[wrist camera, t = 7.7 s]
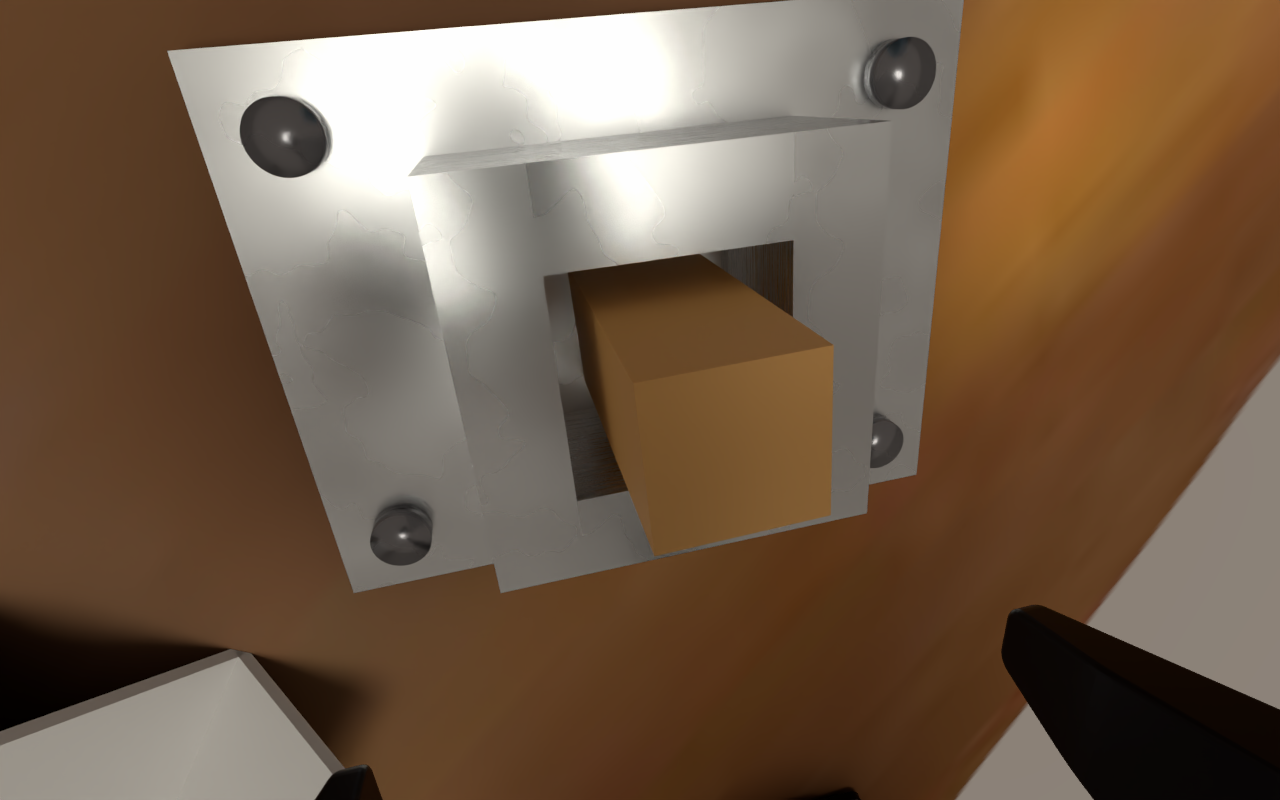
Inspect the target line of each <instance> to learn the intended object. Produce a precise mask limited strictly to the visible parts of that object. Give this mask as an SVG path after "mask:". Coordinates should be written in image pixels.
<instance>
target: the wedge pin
mask: <svg viewBox="0 0 1280 800" xmlns="http://www.w3.org/2000/svg"><path fill="white" fill-rule="evenodd" d="M568 278H569V284H570V291H571V297H572V303H573V310H574V316H575V323H576V329H577V335H578V342H579V348H580V355H581V361H582V368H583V374H584V380H585V383H586V385H587V388H588V390H589V393H590V395H591V398H592V400H593V403H594V405H595V408H596V410H597V413H598V415H599V418H600V420H601V423H602V425H603V428H604V430H605V433H606V435H607V438H608V440H609V443H610V446H611V448H612V451H613V453H614V456H615V458H616V461H617V463H618V466H619V468H620V471H621V473H622V476H623V478H624V481H625V483H626V486H627V488H628V491H629V493H630V496H631V498H632V501H633V503H634V506H635V508H636V511H637V514H638V516H639V519H640V521H641V524H642V526H643V529H644V531H645V534H646V536H647V539H648V541H649V544H650V546H651V549H652V551H653V554H654V556H659V555H663V554H667V553H671V552H676V551H680V550H684V549H688V548H693V547H697V546H701V545H706V544H710V543H714V542H718V541H723V540H727V539H731V538H736V537H740V536H744V535H748V534H753V533H757V532H761V531H766V530H770V529H774V528H778V527H783V526H787V525H791V524H796V523H800V522H804V521H808V520H813V519H817V518H821V517H826V516H830V515H831V475H832V417H833V358H834V345H833V344H831V343H830V342H828V341H827V340H825V339H824V338H823V337H821V336H820V335H818V334H817V333H815V332H814V331H812V330H811V329H809V328H808V327H806V326H805V325H804V324H802V323H801V322H799V321H798V320H796V319H795V318H793V317H792V316H790V315H789V314H787V313H786V312H784V311H783V310H782V309H780V308H779V307H777V306H776V305H774V304H773V303H771V302H770V301H768V300H767V299H765V298H764V297H763V296H761V295H760V294H758V293H757V292H755V291H754V290H752V289H751V288H749V287H748V286H746V285H745V284H743V283H742V282H741V281H739V280H738V279H736V278H735V277H733V276H732V275H730V274H729V273H727V272H726V271H724V270H723V269H721V268H720V267H719V266H717V265H716V264H714V263H713V262H711V261H710V260H708V259H707V258H705V257H704V256H702V255H701V254H693V255H686V256H679V257H672V258H665V259H658V260H651V261H644V262H637V263H630V264H623V265H616V266H609V267H602V268H595V269H588V270H581V271H574V272H568Z"/></svg>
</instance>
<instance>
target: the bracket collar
mask: <svg viewBox="0 0 1280 800" xmlns="http://www.w3.org/2000/svg"><path fill="white" fill-rule="evenodd" d="M963 2H964V0H791V1H779V2H766V3H754V4H741V5H729V6H717V7H704V8H692V9H680V10H667V11H655V12H643V13H630V14H618V15H605V16H593V17H581V18H568V19H556V20H544V21H531V22H519V23H506V24H494V25H482V26H469V27H457V28H445V29H432V30H420V31H408V32H395V33H383V34H370V35H358V36H346V37H333V38H321V39H309V40H296V41H284V42H272V43H259V44H247V45H234V46H222V47H210V48H197V49H185V50H173V51H167V52H168V55H169V57H170V60H171V63H172V66H173V69H174V72H175V75H176V78H177V81H178V84H179V86H180V89H181V92H182V95H183V98H184V101H185V104H186V107H187V110H188V113H189V116H190V118H191V121H192V124H193V127H194V130H195V133H196V136H197V139H198V142H199V145H200V147H201V150H202V153H203V156H204V159H205V162H206V165H207V168H208V171H209V174H210V176H211V179H212V182H213V185H214V188H215V191H216V194H217V197H218V200H219V203H220V206H221V208H222V211H223V214H224V217H225V220H226V223H227V226H228V229H229V232H230V235H231V237H232V240H233V243H234V246H235V249H236V252H237V255H238V258H239V261H240V264H241V267H242V269H243V272H244V275H245V278H246V281H247V284H248V287H249V290H250V293H251V296H252V298H253V301H254V304H255V307H256V310H257V313H258V316H259V319H260V322H261V325H262V327H263V330H264V333H265V336H266V339H267V342H268V345H269V348H270V351H271V354H272V357H273V359H274V362H275V365H276V368H277V371H278V374H279V377H280V380H281V383H282V386H283V388H284V391H285V394H286V397H287V400H288V403H289V406H290V409H291V412H292V415H293V417H294V420H295V423H296V426H297V429H298V432H299V435H300V438H301V441H302V444H303V447H304V449H305V452H306V455H307V458H308V461H309V464H310V467H311V470H312V473H313V476H314V478H315V481H316V484H317V487H318V490H319V493H320V496H321V499H322V502H323V505H324V507H325V510H326V513H327V516H328V519H329V522H330V525H331V528H332V531H333V534H334V537H335V539H336V542H337V545H338V548H339V551H340V554H341V557H342V560H343V563H344V566H345V568H346V571H347V574H348V577H349V580H350V583H351V586H352V589H353V592H354V593H356V592H361V591H366V590H371V589H375V588H380V587H385V586H390V585H394V584H399V583H404V582H409V581H413V580H418V579H423V578H428V577H432V576H437V575H442V574H447V573H451V572H456V571H461V570H466V569H470V568H475V567H480V566H485V565H489V564H494V566H495V570H496V574H497V579H498V583H499V588H500V592H501V593H503V592H508V591H512V590H517V589H522V588H526V587H531V586H535V585H540V584H544V583H549V582H554V581H558V580H563V579H567V578H572V577H577V576H581V575H586V574H590V573H595V572H599V571H604V570H609V569H613V568H618V567H622V566H627V565H631V564H636V563H641V562H645V561H650V560H654V559H659V558H664V557H668V556H673V555H677V554H682V553H686V552H691V551H696V550H700V549H705V548H709V547H714V546H719V545H723V544H728V543H732V542H737V541H741V540H746V539H751V538H755V537H760V536H764V535H769V534H774V533H778V532H783V531H787V530H792V529H796V528H801V527H806V526H810V525H815V524H819V523H824V522H829V521H833V520H838V519H842V518H847V517H851V516H856V515H861V514H865V513H867V503H868V488H869V484H874V483H878V482H883V481H888V480H893V479H897V478H902V477H907V476H912V475H916V472H917V462H918V452H919V442H920V432H921V422H922V412H923V402H924V392H925V382H926V372H927V362H928V352H929V342H930V332H931V322H932V312H933V302H934V292H935V282H936V272H937V262H938V252H939V242H940V232H941V222H942V212H943V202H944V192H945V182H946V172H947V162H948V152H949V142H950V132H951V122H952V112H953V102H954V92H955V82H956V72H957V62H958V52H959V42H960V32H961V22H962V12H963ZM693 254H701V255H702V256H704V257H705V258H707V259H708V260H710V261H711V262H713V263H714V264H716V265H717V266H719V267H720V268H721V269H723V270H724V271H726V272H727V273H729V274H730V275H732V276H733V277H735V278H736V279H738V280H739V281H741V282H742V283H743V284H745V285H746V286H748V287H749V288H751V289H752V290H754V291H755V292H757V293H758V294H760V295H761V296H763V297H764V298H765V299H767V300H768V301H770V302H771V303H773V304H774V305H776V306H777V307H779V308H780V309H782V310H783V311H784V312H786V313H787V314H789V315H790V316H792V317H793V318H795V319H796V320H798V321H799V322H801V323H802V324H804V325H805V326H806V327H808V328H809V329H811V330H812V331H814V332H815V333H817V334H818V335H820V336H821V337H823V338H824V339H825V340H827V341H828V342H830V343H831V344H833V345H834V358H833V417H832V475H831V515H830V516H826V517H821V518H817V519H813V520H808V521H804V522H800V523H796V524H791V525H787V526H783V527H778V528H774V529H770V530H766V531H761V532H757V533H753V534H748V535H744V536H740V537H736V538H731V539H727V540H723V541H718V542H714V543H710V544H706V545H701V546H697V547H693V548H688V549H684V550H680V551H676V552H671V553H667V554H663V555H659V556H654V554H653V551H652V549H651V546H650V544H649V541H648V539H647V536H646V534H645V531H644V529H643V526H642V524H641V521H640V519H639V516H638V514H637V511H636V508H635V506H634V503H633V501H632V498H631V496H630V493H629V491H628V488H627V486H626V483H625V481H624V478H623V476H622V473H621V471H620V468H619V466H618V463H617V461H616V458H615V456H614V453H613V451H612V448H611V446H610V443H609V440H608V438H607V435H606V433H605V430H604V428H603V425H602V423H601V420H600V418H599V415H598V413H597V410H596V408H595V405H594V403H593V400H592V398H591V395H590V393H589V390H588V388H587V385H586V383H585V380H584V374H583V368H582V361H581V355H580V348H579V342H578V335H577V329H576V323H575V316H574V310H573V303H572V297H571V291H570V284H569V278H568V272H574V271H581V270H588V269H595V268H602V267H609V266H616V265H623V264H630V263H637V262H644V261H651V260H658V259H665V258H672V257H679V256H686V255H693Z"/></svg>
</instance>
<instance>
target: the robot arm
mask: <svg viewBox="0 0 1280 800" xmlns="http://www.w3.org/2000/svg"><path fill="white" fill-rule="evenodd" d="M1001 654H1002V659H1003V663H1004V665H1005V667H1006V669H1007V671H1008V673H1009V674H1010V676H1011V677H1012V679H1013V680H1014V682H1015V684H1016V685H1017V687H1018V688H1019V690H1020V691H1021V693H1022V694H1023V696H1024V698H1025V699H1026V701H1027V702H1028V704H1029V705H1030V707H1031V708H1032V710H1033V711H1034V713H1035V715H1036V716H1037V718H1038V720H1039V721H1040V723H1041V724H1042V726H1043V727H1044V729H1045V730H1046V732H1047V734H1048V735H1049V737H1050V738H1051V740H1052V741H1053V743H1054V745H1055V746H1056V748H1057V749H1058V751H1059V752H1060V754H1061V755H1062V757H1063V758H1064V760H1065V761H1066V763H1067V764H1068V766H1069V767H1070V768H1071V770H1072V771H1073V773H1074V774H1075V775H1076V777H1077V778H1078V779H1079V781H1080V782H1081V783H1082V785H1083V786H1084V787H1085V789H1086V790H1087V791H1088V793H1089V794H1090V795H1091V797H1092V798H1093V799H1094V800H1280V709H1277V708H1275V707H1273V706H1270V705H1268V704H1266V703H1264V702H1261V701H1259V700H1257V699H1255V698H1252V697H1250V696H1248V695H1245V694H1243V693H1241V692H1238V691H1236V690H1234V689H1232V688H1229V687H1227V686H1225V685H1223V684H1220V683H1218V682H1216V681H1213V680H1211V679H1209V678H1206V677H1204V676H1202V675H1200V674H1197V673H1195V672H1193V671H1191V670H1188V669H1186V668H1184V667H1181V666H1179V665H1177V664H1174V663H1172V662H1170V661H1168V660H1165V659H1163V658H1161V657H1159V656H1156V655H1154V654H1152V653H1149V652H1147V651H1145V650H1143V649H1140V648H1138V647H1135V646H1133V645H1131V644H1129V643H1127V642H1124V641H1122V640H1120V639H1117V638H1115V637H1113V636H1110V635H1108V634H1106V633H1104V632H1101V631H1099V630H1097V629H1095V628H1092V627H1090V626H1088V625H1085V624H1083V623H1081V622H1079V621H1076V620H1074V619H1072V618H1069V617H1067V616H1065V615H1063V614H1060V613H1058V612H1056V611H1053V610H1051V609H1049V608H1047V607H1044V606H1041V605H1030V606H1026V607H1022V608H1018V609H1014V610H1012V611H1011V612H1010V613H1009V615H1008V618H1007V623H1006V629H1005V634H1004V639H1003V644H1002V650H1001ZM315 800H382V797H381V794H380V791H379V788H378V786H377V783H376V780H375V777H374V774H373V772H372V769H371V768H370V767H369V766H368V765H359V766H354V767H350V768H346V769H342V770H339V771H336V772H335V773H333V774H332V775H331V776H330V778H329V779H328V780H327V782H326V783H325V785H324V786H323V788H322V789H321V791H320V792H319V794H318V795H317V797H316V798H315ZM822 800H861V799H860V797H859V795H858V793H856V792H854V791H850V792H846V793H842V794H839V795H835V796H832V797H829V798H825V799H822Z"/></svg>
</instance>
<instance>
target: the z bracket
mask: <svg viewBox="0 0 1280 800" xmlns="http://www.w3.org/2000/svg"><path fill="white" fill-rule="evenodd" d="M342 769H345V768H344V767H343V765H342V764H341V763H340V762H339V761H338V759H337V758H336V757H335V756H334V754H333V753H332V752H331V751H330V750H329V748H328V747H327V746H326V745H325V743H324V742H323V741H322V740H321V738H320V737H319V736H318V735H317V734H316V732H315V731H314V730H313V729H312V727H311V726H310V725H309V724H308V723H307V721H306V720H305V719H304V718H303V716H302V715H301V714H300V713H299V711H298V710H297V709H296V708H295V707H294V705H293V704H292V703H291V702H290V700H289V699H288V698H287V697H286V696H285V694H284V693H283V692H282V691H281V689H280V688H279V687H278V686H277V684H276V683H275V682H274V681H273V680H272V678H271V677H270V676H269V675H268V673H267V672H266V671H265V670H264V669H263V667H262V666H261V665H260V664H259V662H258V661H257V660H256V659H255V657H254V656H253V655H252V654H251V653H247V652H242V651H238V650H233V649H229V650H227V651H224V652H221V653H218V654H215V655H213V656H210V657H207V658H204V659H201V660H199V661H196V662H193V663H190V664H187V665H185V666H182V667H179V668H176V669H173V670H171V671H168V672H165V673H162V674H160V675H157V676H154V677H151V678H148V679H146V680H143V681H140V682H137V683H134V684H132V685H129V686H126V687H123V688H120V689H118V690H115V691H112V692H109V693H106V694H104V695H101V696H98V697H95V698H92V699H90V700H87V701H84V702H81V703H78V704H76V705H73V706H70V707H67V708H64V709H62V710H59V711H56V712H53V713H50V714H48V715H45V716H42V717H39V718H37V719H34V720H31V721H28V722H25V723H23V724H20V725H17V726H14V727H11V728H9V729H6V730H3V731H0V800H315V798H316V797H317V795H318V794H319V792H320V791H321V789H322V788H323V786H324V785H325V783H326V782H327V780H328V779H329V778H330V776H331V775H332V774H333V773H335V772H336V771H339V770H342Z"/></svg>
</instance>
